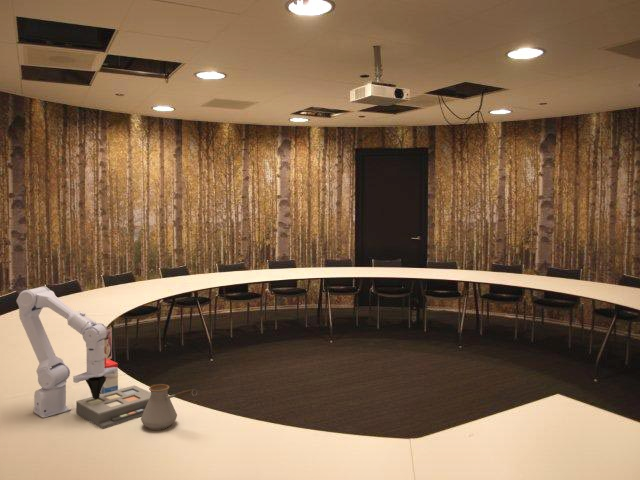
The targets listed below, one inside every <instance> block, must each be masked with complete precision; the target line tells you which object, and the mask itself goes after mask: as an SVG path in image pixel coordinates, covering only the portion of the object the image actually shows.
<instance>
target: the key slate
mask: <svg viewBox="0 0 640 480" xmlns="http://www.w3.org/2000/svg"><path fill="white" fill-rule="evenodd" d="M123 393H124V394H127V395H129V394H132V393H136V391H134V390H130V391H126V392H123ZM121 397H122V396H121ZM132 397H133V396H132ZM134 397H135V396H134ZM129 398H130V397H129ZM125 399H126V398H125Z"/></svg>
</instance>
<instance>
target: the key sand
mask: <svg viewBox="0 0 640 480" xmlns="http://www.w3.org/2000/svg"><path fill="white" fill-rule="evenodd" d="M118 397H121V396H118V395H112V396H108V397H106V398H108V399H110V400H111V399H115V398H118ZM115 402H116V401H115ZM117 402H118V401H117ZM111 403H112V402H111ZM108 404H109V403H108Z"/></svg>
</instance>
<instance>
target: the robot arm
mask: <svg viewBox="0 0 640 480" xmlns="http://www.w3.org/2000/svg"><path fill="white" fill-rule="evenodd" d="M16 304H17V305H18V313H19V314H18V315H19V316H18V317H19V319H20V322H21V324H22V327H23V328H24V331H25V333H26V336H27V338H28V341H29V343H30V344H31V347H32V349H33V351H34V354H35V356H36V358H37V361H38V366H37V368H36V374H37V383H38V385H39V386H40V388H39V389H36V390H35V392H34V395H33V396H34V398H33V400H34V401H33V402H34V404H33V405H34V407H33V408H34V410H33V413H34V414H36V415H38V416H39V417H41V418H47V417H52V416H55V415H58V414H63V413H66V412H69V411H71V410H72V409H71V408H70V407H68V406H67V395H66V394H67V389H66V388H67V380H68V379H69V378H70V375H71V370H70V367H69V366H68V365H67V364H66V363H65V362H64V359H63V358H61V357H58V356H56V353H55V351H54V348H53V346H52V344H51V341H50V339H49V337H48V335H47V332H46V330H45V328H44V325H43V324H42V321H41V318H40V317H39V316H40V313H41V312H42V310H43V308H48V309H50V310H52V312H55V313H57V314H58V315H59V316H61V317H62V318H64V319H65V320H67V325H68V326H69V327H70V328H72V329H73V330H75V331H76V332H77V333H78V334H80V335H82V339H83V341H84V343H85V347H86V371H84V372H83V373H80V374H77V375H74V376H72V377H73V378H72V379H73V381H72V382H73V383H75V384H79V383H80V382H82V381H83V382H84V381H86V384H87V385H88V387H89V390H90V393H91V397H93V398H94V399H98V398H99V396H100V395H101V389H102V386H103V384H104V382H105V381H106V377H104V376H105V375H109V374H116V373H117V368H115V367H111V368H105V364H104V359H105V358H104V338H105V337H106V336H107V333H108V331H107V330H108V328H107V326H106V325H105V324H104V323H101V322H97V321H95V320H93V319H91V318H89V317H88V316H87V315H86V312H84V311H82V312H81V311H80V310H79V311H74V310H73V309H72V308H71V307H70V306H68V305H67V304H66V303H65V302H64V301H62V300H61V299H60V298H59V297H57V296H56V294H55V292H54V291H53V290H51V289H50V288H48V287H47V286H44V285H43V286H39V287H35V288H30V289H24V290H22V291H20V293H19V294H18V297H17V298H16ZM102 339H103V340H102Z"/></svg>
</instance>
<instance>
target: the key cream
mask: <svg viewBox="0 0 640 480" xmlns="http://www.w3.org/2000/svg"><path fill="white" fill-rule="evenodd" d="M120 404H121V403H119V402H117V401H116V402H112V403H109V404H106V405H108V406H110V407H113V406H116V405H120Z"/></svg>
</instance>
